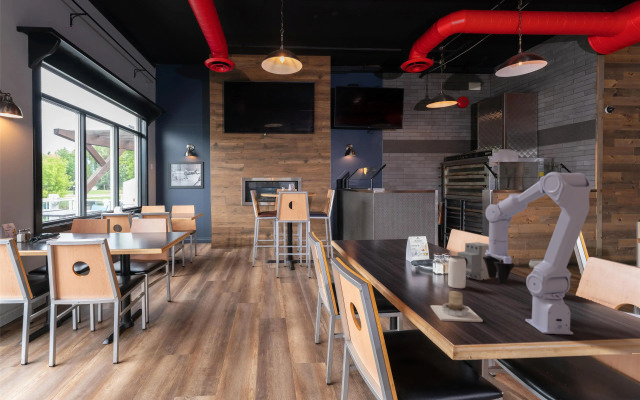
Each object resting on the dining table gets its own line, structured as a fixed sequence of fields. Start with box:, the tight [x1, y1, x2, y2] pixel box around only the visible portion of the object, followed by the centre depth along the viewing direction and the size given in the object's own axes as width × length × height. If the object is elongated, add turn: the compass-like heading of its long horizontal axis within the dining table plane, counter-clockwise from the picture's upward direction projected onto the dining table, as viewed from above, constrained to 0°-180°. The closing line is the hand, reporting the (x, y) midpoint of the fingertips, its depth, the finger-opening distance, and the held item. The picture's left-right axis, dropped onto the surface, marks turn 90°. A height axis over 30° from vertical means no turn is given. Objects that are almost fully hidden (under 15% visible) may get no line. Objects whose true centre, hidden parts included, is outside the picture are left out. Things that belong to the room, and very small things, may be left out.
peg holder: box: [430, 302, 483, 323], centre depth 108 cm, size 12×12×2 cm
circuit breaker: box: [457, 242, 490, 281], centre depth 154 cm, size 8×14×15 cm, turn 115°
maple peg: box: [448, 290, 464, 310], centre depth 108 cm, size 4×4×6 cm
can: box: [447, 255, 467, 290], centre depth 139 cm, size 6×6×12 cm
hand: (497, 280), depth 117 cm, fingers open, 7 cm apart
